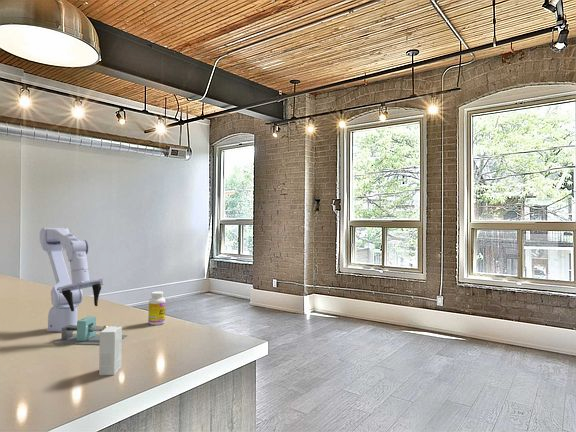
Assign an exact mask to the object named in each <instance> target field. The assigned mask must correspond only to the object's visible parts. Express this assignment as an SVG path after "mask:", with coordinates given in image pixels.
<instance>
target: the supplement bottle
mask: <svg viewBox="0 0 576 432" xmlns="http://www.w3.org/2000/svg"><path fill="white" fill-rule="evenodd" d="M147 317H148V319H147V320H148V325H151V326H160V325H163V324H164V323H166V299H165V298H164V292H163V291H160V290H159V291H152V292H151V297H150V299H149V300H148V316H147Z"/></svg>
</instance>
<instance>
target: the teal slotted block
mask: <svg viewBox="0 0 576 432" xmlns="http://www.w3.org/2000/svg"><path fill="white" fill-rule="evenodd" d="M96 319H97V316H93V315H92V316H86V317H83V318H81V319H77V331H76V334H77V341H86V340H88V339H90V338H91V337H93V336H95V334H97V333H96V332H97V331H88V326H97V325H96V324H97V320H96Z"/></svg>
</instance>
